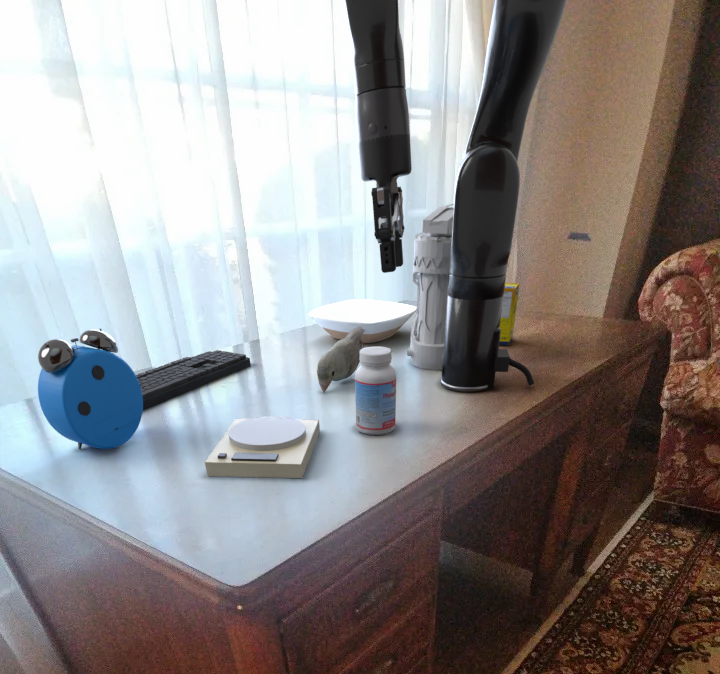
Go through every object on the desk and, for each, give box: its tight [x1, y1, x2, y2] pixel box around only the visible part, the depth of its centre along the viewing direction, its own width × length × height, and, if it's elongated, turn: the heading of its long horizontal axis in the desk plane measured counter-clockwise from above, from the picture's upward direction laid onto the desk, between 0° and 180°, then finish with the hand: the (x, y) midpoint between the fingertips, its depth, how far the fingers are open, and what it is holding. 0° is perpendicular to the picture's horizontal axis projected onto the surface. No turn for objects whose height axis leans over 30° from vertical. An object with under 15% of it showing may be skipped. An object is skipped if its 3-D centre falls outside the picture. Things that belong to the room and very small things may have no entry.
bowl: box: [307, 298, 417, 344], centre depth 130 cm, size 22×22×5 cm
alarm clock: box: [37, 328, 144, 450], centre depth 81 cm, size 13×6×15 cm, turn 148°
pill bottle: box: [354, 345, 397, 436], centre depth 85 cm, size 6×6×11 cm
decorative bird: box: [316, 326, 365, 393], centre depth 105 cm, size 5×16×8 cm, turn 155°
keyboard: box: [135, 349, 252, 411], centre depth 106 cm, size 35×11×2 cm, turn 149°
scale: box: [204, 415, 321, 479], centre depth 82 cm, size 13×16×3 cm
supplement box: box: [499, 282, 521, 346], centre depth 122 cm, size 6×6×11 cm
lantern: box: [406, 203, 454, 371], centre depth 108 cm, size 13×10×25 cm
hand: (393, 269), depth 92 cm, fingers open, 8 cm apart
